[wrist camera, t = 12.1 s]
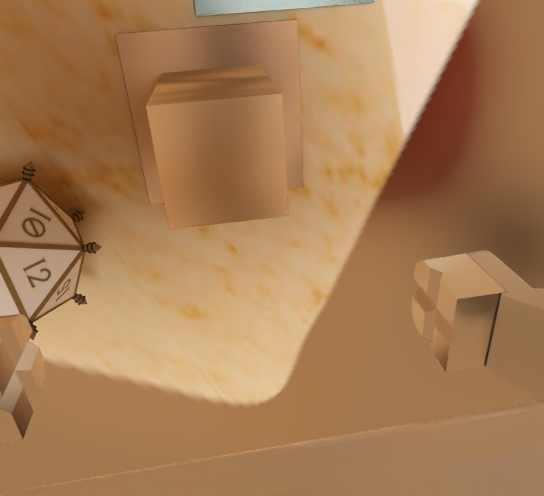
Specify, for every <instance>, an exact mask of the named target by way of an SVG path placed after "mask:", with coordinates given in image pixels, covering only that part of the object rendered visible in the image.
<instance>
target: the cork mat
mask: <svg viewBox="0 0 544 496" xmlns="http://www.w3.org/2000/svg"><path fill="white" fill-rule="evenodd" d="M115 36H116V41H117V46H118V51H119V55H120V60H121V65H122V70H123V75H124V80H125V85H126V89H127V94H128V99H129V104H130V109H131V114H132V119H133V124H134V128H135V133H136V138H137V143H138V148H139V153H140V158H141V162H142V167H143V172H144V177H145V182H146V187H147V192H148V197H149V201H150V204H158V203H164V199H163V194H162V189H161V183H160V178H159V173H158V167H157V162H156V157H155V152H154V146H153V141H152V136H151V131H150V125H149V120H148V115H147V109H146V105H147V103H148V101H149V99H150V97H151V95H152V93H153V91H154V89H155V87H156V85H157V82H158V80H159V78H160V76H161V74H162V73H169V72H181V71H192V70H203V69H215V68H226V67H237V66H249V65H260V66H261V67H262V69H263V70H264V71H265V72H266V74H267V75H268V76H269V77H270V79H271V80H272V81H273V83H274V84H275V85H276V86H277V88H278V89H279V90H280V92H281V93H282V102H283V121H284V140H285V158H286V177H287V189H294V188H303V160H302V132H301V104H300V76H299V48H298V20H297V19H293V20H281V21H268V22H256V23H244V24H231V25H219V26H207V27H194V28H182V29H170V30H157V31H145V32H132V33H120V34H115Z"/></svg>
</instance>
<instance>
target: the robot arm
mask: <svg viewBox="0 0 544 496" xmlns="http://www.w3.org/2000/svg"><path fill="white" fill-rule="evenodd" d="M414 278H415V280H416V281H417V282H418V284H419V285H420V286H419V287H418V289H417V290H416V291H415V293H414V294H413V295H412V313H413V319H414V322H415V325H416V327H417V329H418V331H419V332H420V334H421V336H422V337H424V338H426V339H428V340H430V341H432V349H431V351H432V352H433V354H434V355H435V357H436V358H437V360H438V361H439V363H440V364H441V366H442V367H443V369H444V370H445V371H446V372H451V371H458V370H466V369H473V368H481V367H486V369H487V370H488V371H490V372H491V373H493V374H495V375H496V376H498V377H500V378H501V379H503V380H504V381H506V382H507V383H509V384H511V385H512V386H514V387H516V388H517V389H519V390H520V391H522V392H523V393H525V394H527V395H528V396H530V397H531V398H533V399H535V400H536V401H538V402H535V403H530V404H524V405H518V406H512V407H506V408H501V409H495V410H489V411H483V412H477V413H471V414H465V415H460V416H453V417H447V418H441V419H435V420H430V421H424V422H417V423H411V424H405V425H400V426H394V427H388V428H382V429H376V430H370V431H364V432H358V433H352V434H346V435H340V436H334V437H328V438H322V439H316V440H310V441H305V442H299V443H293V444H287V445H281V446H275V447H270V448H264V449H258V450H252V451H246V452H240V453H235V454H228V455H223V456H217V457H211V458H205V459H199V460H194V461H188V462H182V463H176V464H170V465H165V466H158V467H152V468H146V469H141V470H135V471H129V472H123V473H117V474H111V475H105V476H100V477H93V478H87V479H81V480H75V481H69V482H63V483H57V484H52V485H46V486H41V487H34V488H28V489H22V490H16V491H10V492H5V493H0V496H544V289H542V288H537V289H533V288H531V287H530V286H529V285H528V284H527V283H526V282H525V281H523V280H522V279H521V278H520V277H519V276H518V275H516V274H515V273H514V272H513V271H512V270H511V269H510V268H509V267H507V266H506V265H505V264H504V263H503V262H502V261H501V260H499V259H498V258H497V257H496V256H495V255H494V254H492V253H491V252H489V251H486V250H482V251H477V252H471V253H465V254H461V255H454V256H448V257H441V258H435V259H429V260H422V261H418V262H417V265H416V268H415V275H414ZM32 331H33V330H32V328H31V326H30V324H29V321H28V319H27V317H25V316H24V315H22V314H15V315H6V316H0V444H2V443H7V442H12V441H18V440H23V438H24V436H25V433H26V431H27V428H28V425H29V422H30V420H31V417H32V415H33V412H34V411H33V409H32V407H31V404H30V403H31V401H33V400H34V399H35V398H36V397H37V396H39V395H40V393H41V390H42V387H43V384H44V375H45V366H44V360H43V356H42V354H41V351H40V348H39V347H37V346H36V345H34V344H33V343H31V342H30V341H28V340H29V338H30V335H31V333H32Z"/></svg>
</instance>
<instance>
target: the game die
mask: <svg viewBox="0 0 544 496" xmlns="http://www.w3.org/2000/svg"><path fill="white" fill-rule="evenodd" d="M23 169H24V170H23V171H22V174H23V178H20V179H17V180H13V181H9V182H5V183H2V184H0V316H6V315H15V314H22V315H24V316H25V317H27V319H28V321H29V324H30V326H31V328H32V330H33V331H32V333H31V335H30V338H31V339H32V340H34V337H35V335H36V333H37V332H38V330H36V326H34V325H33V322H35V321H36V320H38V319H39V318H41V317H43V316H44V315H46V314H48V313H49V312H51V311H52V310H54V309H56V308H57V307H59V306H61V305H62V304H64V303H66V302H67V301H69V300H70V299H74V300H75V303H78V305H80V304H87V302H86V299H85V296H82V294H77V293H76V291H77V287H78V282H79V277H80V273H81V268H82V263H83V259H84V254H85V252H89V253H91V252H93V253H96V251H97V250H99V249H100V248H101V246H99V245H98V244H96V243H95V242H93V243H88V244H86V245H84V243H83V241H82V239H81V236H80V234H79V231H78V229H77V227H76V224H75V221H76V222H78V221H80V220H82V219H83V216H84V214H85V213H82V212H78V211H76V213H73V215H72V217H71V216H70V215H69V214H67V213H66V212H65V211H64V210H63V209H62V208H61V207H60V206H59V205H57V204H56V203H55V202H54V201H53V200H52V199H51V198H50V197H49V196H47V195H46V194H45V193H44V192H43V191H42V190H41V189H40V188H39V187H38V186H36V185H35V184H34V183H33V182H32V181H31V177H32V176H34V174H33V173H34V171H36V170H35V169H34V167H33V165H32V163H31V161H30V162H29V163H28V164H27V165H26V166H23Z"/></svg>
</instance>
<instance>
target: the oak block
mask: <svg viewBox="0 0 544 496" xmlns="http://www.w3.org/2000/svg"><path fill="white" fill-rule="evenodd" d="M146 109H147V115H148V120H149V125H150V131H151V136H152V141H153V146H154V152H155V157H156V162H157V167H158V173H159V178H160V183H161V189H162V194H163V199H164V204H165V210H166V215H167V220H168V226H169V229H176V228H185V227H194V226H203V225H211V224H220V223H229V222H237V221H246V220H255V219H264V218H272V217H281V216H289V214H288V195H287V177H286V158H285V140H284V121H283V102H282V93H281V92H280V90H279V89H278V88H277V86H276V85H275V84H274V83H273V81H272V80H271V79H270V77H269V76H268V75H267V74H266V72H265V71H264V70H263V69H262V67H261V66H260V65H249V66H237V67H226V68H215V69H203V70H192V71H181V72H169V73H162V74H161V76H160V78H159V80H158V82H157V85H156V87H155V89H154V91H153V93H152V95H151V97H150V99H149V101H148V103H147V105H146Z"/></svg>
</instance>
